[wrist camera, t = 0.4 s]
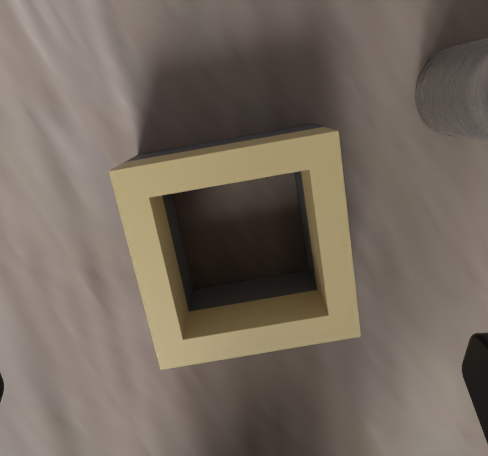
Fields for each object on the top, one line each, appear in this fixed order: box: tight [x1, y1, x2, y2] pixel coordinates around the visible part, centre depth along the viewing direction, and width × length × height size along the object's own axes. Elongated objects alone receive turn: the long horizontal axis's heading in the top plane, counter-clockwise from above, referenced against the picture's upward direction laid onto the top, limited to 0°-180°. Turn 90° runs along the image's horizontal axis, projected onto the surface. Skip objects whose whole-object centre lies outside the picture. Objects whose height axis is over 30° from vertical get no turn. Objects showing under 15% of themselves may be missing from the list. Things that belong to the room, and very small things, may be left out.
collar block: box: [109, 124, 361, 370], centre depth 19 cm, size 8×8×5 cm
